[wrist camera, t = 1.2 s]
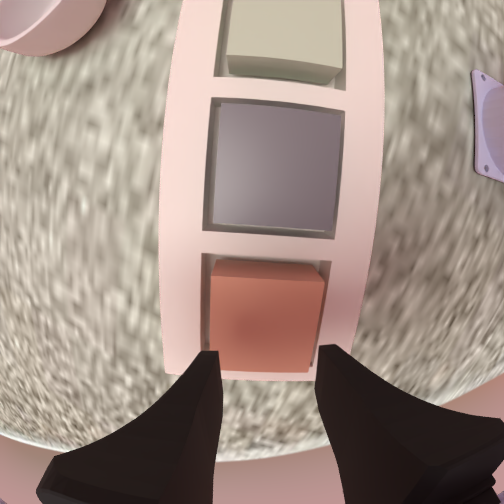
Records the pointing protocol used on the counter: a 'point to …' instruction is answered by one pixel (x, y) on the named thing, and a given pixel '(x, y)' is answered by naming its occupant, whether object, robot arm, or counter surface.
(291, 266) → the key terracotta
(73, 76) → the counter surface
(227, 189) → the key charcoal
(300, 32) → the key sage
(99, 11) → the teacup
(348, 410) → the robot arm
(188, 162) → the pink tray
